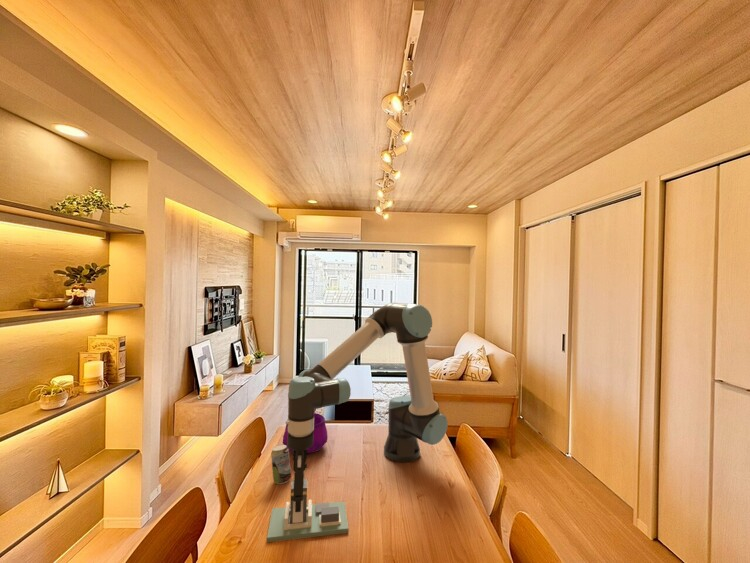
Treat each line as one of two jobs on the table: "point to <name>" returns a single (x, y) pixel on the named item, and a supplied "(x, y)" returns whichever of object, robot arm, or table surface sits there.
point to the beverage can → (281, 464)
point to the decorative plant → (319, 434)
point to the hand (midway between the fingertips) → (298, 505)
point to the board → (308, 522)
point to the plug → (303, 501)
